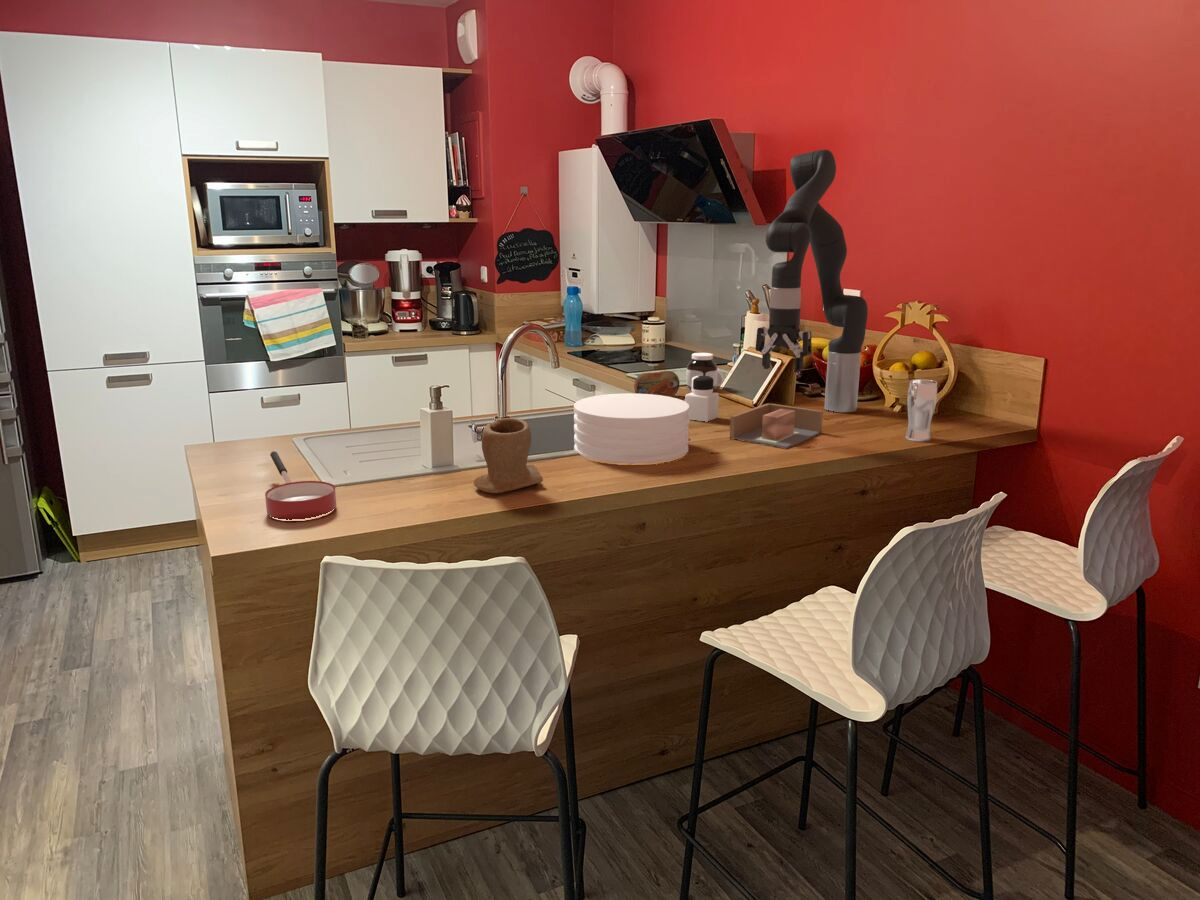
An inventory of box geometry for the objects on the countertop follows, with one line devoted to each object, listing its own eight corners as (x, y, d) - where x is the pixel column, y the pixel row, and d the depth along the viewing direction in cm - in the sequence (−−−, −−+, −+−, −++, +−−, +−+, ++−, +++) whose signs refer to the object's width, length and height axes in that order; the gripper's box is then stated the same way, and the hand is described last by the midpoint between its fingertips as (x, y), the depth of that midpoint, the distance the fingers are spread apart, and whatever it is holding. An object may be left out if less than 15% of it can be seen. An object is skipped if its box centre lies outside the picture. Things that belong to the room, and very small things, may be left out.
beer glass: (928, 435, 234) (934, 379, 230) (935, 442, 227) (941, 384, 223) (901, 435, 235) (906, 378, 231) (907, 441, 228) (912, 383, 224)
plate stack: (639, 431, 240) (639, 389, 237) (712, 453, 218) (713, 407, 215) (552, 447, 224) (551, 402, 221) (621, 473, 202) (621, 424, 199)
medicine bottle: (718, 417, 254) (719, 375, 251) (707, 422, 248) (708, 379, 245) (695, 414, 258) (696, 373, 255) (684, 419, 252) (685, 377, 249)
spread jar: (685, 391, 290) (685, 355, 287) (687, 384, 301) (688, 350, 298) (722, 392, 288) (723, 356, 285) (723, 386, 299) (724, 351, 296)
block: (761, 438, 229) (762, 415, 227) (779, 430, 236) (781, 408, 235) (775, 440, 226) (777, 417, 225) (793, 433, 234) (795, 410, 232)
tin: (637, 401, 276) (637, 374, 274) (632, 399, 279) (632, 372, 277) (679, 396, 282) (680, 370, 280) (674, 395, 285) (675, 368, 283)
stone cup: (494, 502, 182) (492, 430, 178) (466, 487, 191) (464, 419, 187) (557, 488, 191) (556, 420, 187) (527, 475, 200) (526, 409, 196)
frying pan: (233, 486, 193) (230, 457, 191) (294, 475, 200) (291, 448, 198) (278, 528, 168) (275, 495, 166) (346, 514, 175) (344, 483, 173)
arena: (767, 424, 246) (768, 403, 245) (821, 433, 237) (822, 411, 235) (729, 438, 231) (730, 416, 229) (786, 448, 221) (787, 425, 220)
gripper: (752, 305, 224) (749, 369, 228) (804, 309, 215) (801, 375, 220) (766, 302, 229) (763, 365, 234) (818, 306, 221) (814, 371, 225)
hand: (782, 370), depth 227 cm, fingers open, 8 cm apart
